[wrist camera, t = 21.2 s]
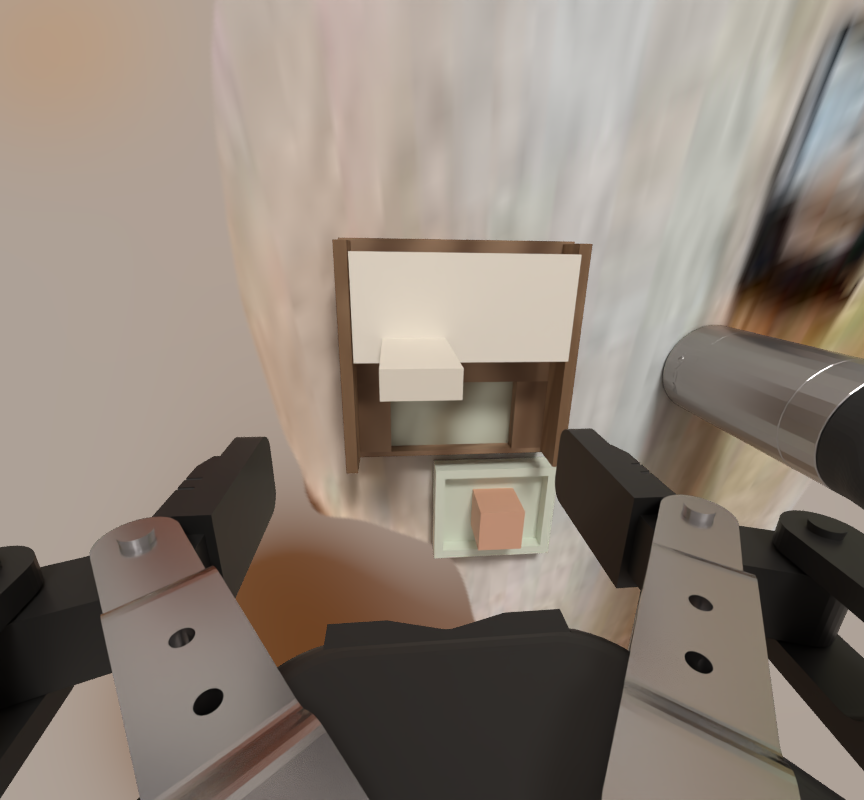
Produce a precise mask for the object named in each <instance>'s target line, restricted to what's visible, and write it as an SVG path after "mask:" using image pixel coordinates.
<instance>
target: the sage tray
mask: <svg viewBox="0 0 864 800" xmlns="http://www.w3.org/2000/svg"><path fill="white" fill-rule="evenodd" d="M555 474H556V467H552V466H551V464H550V463H549V462H548V460H547V459H546V458H545V457H535V458H501V459H467V460H434V479H433V535H432V546H433V553H434V558H454V557H474V556H494V555H514V554H534V553H548V546H549V539H550V531H551V523H552V516H553V508H554V500H555V492H556V491H555ZM490 488H513V489H514V491H515V493H516V495H517V497H518V498H519V500H520V502H521V504H522V506H523V508H524V510H525V517H524V526H523V535H522V544H521V549H499V550H478V548H477V544H476V541H475V537H474V534H473V530H472V527H471V510H472V494H473V489H490Z"/></svg>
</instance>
